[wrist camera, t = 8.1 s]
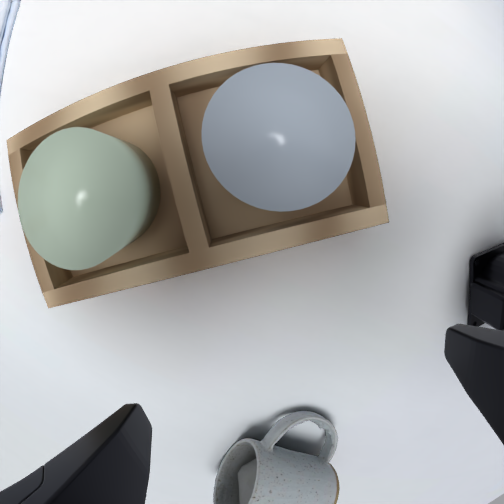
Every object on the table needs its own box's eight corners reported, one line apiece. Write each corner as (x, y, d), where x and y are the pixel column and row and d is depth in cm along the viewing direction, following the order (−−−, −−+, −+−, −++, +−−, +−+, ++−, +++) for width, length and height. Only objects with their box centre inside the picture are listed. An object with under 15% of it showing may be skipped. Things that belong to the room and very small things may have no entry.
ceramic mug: (288, 486, 23) (302, 546, 16) (211, 470, 22) (210, 537, 15) (353, 416, 22) (388, 480, 15) (268, 391, 21) (286, 470, 13)
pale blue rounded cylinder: (306, 87, 16) (332, 55, 11) (332, 190, 17) (369, 193, 12) (198, 108, 16) (186, 80, 11) (225, 216, 17) (223, 228, 12)
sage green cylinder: (147, 125, 16) (117, 105, 11) (172, 232, 17) (151, 251, 12) (56, 160, 16) (8, 157, 11) (80, 258, 17) (38, 282, 12)
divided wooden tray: (326, 57, 16) (341, 38, 13) (366, 216, 18) (389, 222, 15) (32, 144, 16) (6, 140, 13) (69, 292, 18) (48, 308, 15)
